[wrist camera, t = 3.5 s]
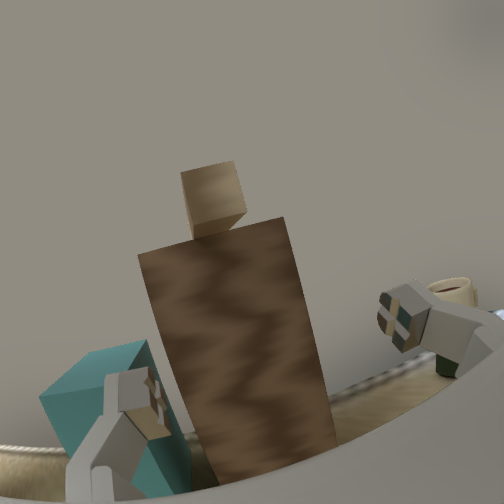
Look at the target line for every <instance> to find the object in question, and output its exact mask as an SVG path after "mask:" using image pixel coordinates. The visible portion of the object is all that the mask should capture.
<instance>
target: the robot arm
mask: <svg viewBox="0 0 504 504" xmlns="http://www.w3.org/2000/svg"><path fill="white" fill-rule="evenodd" d="M379 301H380V303H381V304H382V306H381V307H380V309H379V310H378V315H377V320H378V324H379V326H380V328H381V330H382V331H383V332H384V333H385V334H386V335H389V336H392V343H393V344H394V345H395V346H396V347H397V348H398V349H399V351H401V353H404V352H406V351H408V350H410V349H412V348H414V347H416V346H418V345H420V346H421V347H423V348H425V349H427V350H430V351H432V352H434V353H436V354H438V355H441V356H443V357H445V358H447V359H449V360H452V361H454V362H456V363H458V364H459V366H458V368H457V370H456V372H455V377H456V378H457V380H455V381H454V382H452V383H451V384H450V385H448V386H447V387H445V388H444V389H442V390H441V391H439V392H438V393H436V394H435V395H433V396H431V397H430V398H428V399H427V400H425V401H423V402H422V403H420V404H419V405H417V406H415V407H414V408H412V409H410V410H408V411H407V412H405V413H403V414H402V415H400V416H398V417H396V418H394V419H393V420H391V421H389V422H387V423H385V424H383V425H381V426H379V427H378V428H376V429H374V430H372V431H370V432H368V433H366V434H364V435H361V436H359V437H357V438H355V439H353V440H351V441H349V442H347V443H344V444H342V445H340V446H338V447H335V448H333V449H331V450H328V451H326V452H323V453H321V454H319V455H316V456H314V457H311V458H308V459H306V460H303V461H300V462H298V463H295V464H292V465H289V466H287V467H284V468H281V469H278V470H275V471H272V472H268V473H265V474H262V475H259V476H255V477H252V478H248V479H245V480H241V481H237V482H233V483H230V484H226V485H221V486H217V487H213V488H208V489H203V490H198V491H193V492H188V493H182V494H176V495H170V496H163V497H156V498H148V499H146V494H144V493H143V492H142V491H140V490H139V489H138V488H136V487H135V486H133V485H132V484H131V481H132V479H133V476H134V474H135V472H136V469H137V467H138V464H139V462H140V460H141V457H142V455H143V453H144V450H145V448H146V446H147V443H148V441H147V440H152V439H157V438H161V437H166V436H170V435H172V434H171V428H170V422H169V418H168V416H167V415H166V413H165V411H166V409H167V402H166V398H165V394H164V391H163V389H162V386H161V385H160V383H159V381H156V380H155V376H154V372H153V370H152V369H151V367H149V366H148V367H143V368H138V369H133V370H127V371H122V372H118V373H113V374H107V375H106V377H105V382H104V408H103V415H101V416H99V417H98V419H97V420H96V422H95V423H94V425H93V426H92V428H91V429H90V431H89V432H88V434H87V435H86V437H85V438H84V440H83V441H82V443H81V444H80V446H79V447H78V449H77V451H76V452H75V454H74V455H73V457H72V458H71V460H70V461H69V463H68V464H67V466H66V482H65V489H66V502H49V501H35V500H25V499H16V498H9V497H2V496H0V504H504V321H503V320H502V319H501V318H500V317H498V316H497V315H496V314H493V313H490V312H486V311H483V310H479V309H475V308H472V307H468V306H464V305H461V304H457V303H453V302H450V301H446V300H445V301H441V300H440V299H439V298H438V297H437V296H436V295H434V294H433V293H432V292H431V291H430V290H429V289H427V288H426V287H425V286H423V284H421V283H420V282H419V281H417V280H414V279H413V280H411V281H409V282H406V283H404V284H402V285H399V286H397V287H395V288H392V289H390V290H387V291H385V292H382V294H381V296H380V300H379Z"/></svg>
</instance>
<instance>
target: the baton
mask: <svg viewBox="0 0 504 504" xmlns="http://www.w3.org/2000/svg"><path fill="white" fill-rule="evenodd" d="M181 180H182V186H183V194H184V201H185V208H186V215H187V221H188V227H189V231H190V235H191V238H192V240H194V239H197V238H201V237H205V236H209V235H213V234H217V233H220V232H224V231H228V230H229V229H230V228H231V227H232V226H233V225H234V224H235V223H236V222H237V221H238V220H239V219H240V218H241V217H242V216H243V215H245V213H247V208H246V205H245V201H244V197H243V193H242V190H241V186H240V182H239V179H238V175H237V171H236V168H235V164H234V161H228V162H223V163H219V164H215V165H210V166H206V167H201V168H197V169H193V170H189V171H185V172H181Z"/></svg>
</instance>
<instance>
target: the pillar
mask: <svg viewBox="0 0 504 504" xmlns="http://www.w3.org/2000/svg"><path fill="white" fill-rule="evenodd" d="M138 259H139V263H140V267H141V271H142V274H143V278H144V282H145V286H146V289H147V293H148V296H149V299H150V303H151V307H152V310H153V313H154V317H155V320H156V323H157V326H158V330H159V333H160V336H161V339H162V342H163V345H164V348H165V351H166V354H167V357H168V360H169V363H170V366H171V368H172V371H173V374H174V377H175V380H176V382H177V385H178V388H179V390H180V393H181V395H182V398H183V401H184V403H185V406H186V408H187V411H188V414H189V416H190V419H191V421H192V423H193V426H194V428H195V431H196V433H197V435H198V438H199V440H200V442H201V445H202V447H203V449H204V451H205V454H206V456H207V458H208V460H209V462H210V465H211V467H212V469H213V471H214V473H215V475H216V477H217V479H218V481H219V484H220V486H221V485H226V484H230V483H233V482H237V481H241V480H245V479H248V478H252V477H255V476H259V475H262V474H265V473H268V472H272V471H275V470H278V469H281V468H284V467H287V466H289V465H292V464H295V463H298V462H300V461H303V460H306V459H308V458H311V457H314V456H316V455H319V454H321V453H323V452H326V451H328V450H331V449H333V448H335V447H338V444H337V439H336V434H335V429H334V424H333V420H332V415H331V410H330V405H329V401H328V396H327V392H326V387H325V382H324V378H323V374H322V370H321V365H320V360H319V356H318V352H317V347H316V343H315V339H314V335H313V330H312V326H311V322H310V318H309V314H308V310H307V306H306V302H305V298H304V294H303V290H302V286H301V282H300V278H299V274H298V270H297V266H296V263H295V259H294V255H293V252H292V247H291V244H290V240H289V236H288V233H287V229H286V225H285V221H284V218H283V217H280V218H276V219H272V220H268V221H264V222H260V223H256V224H252V225H248V226H244V227H240V228H236V229H232V230H228V231H224V232H220V233H217V234H213V235H209V236H205V237H201V238H197V239H194V240H190V241H186V242H182V243H179V244H175V245H171V246H168V247H164V248H160V249H157V250H153V251H149V252H146V253H142V254H138Z"/></svg>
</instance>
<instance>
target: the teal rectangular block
mask: <svg viewBox="0 0 504 504" xmlns="http://www.w3.org/2000/svg"><path fill="white" fill-rule="evenodd" d="M148 366H149V367H151V369H152V370H153V372H154V376H155V380H156V381H159V383H160V385H161V386H162V389H163V391H164V394H165V398H166V402H167V409H166V411H165V413H166V415H167V416H168V418H169V422H170V428H171V434H172V435H170V436H166V437H161V438H157V439H152V440H147V441H148V443H147V446H146V448H145V450H144V453H143V455H142V457H141V460H140V462H139V464H138V467H137V469H136V472H135V474H134V476H133V479H132V481H131V484H132V485H133V486H135V487H136V488H138V489H139V490H140V491H142V492H143V493H144V494H146V499H148V498H156V497H163V496H170V495H176V494H182V493H188V492H192V476H191V451H190V449H189V447H188V445H187V443H186V440H185V438H184V436H183V434H182V431H181V429H180V427H179V424H178V422H177V420H176V417H175V415H174V412H173V410H172V408H171V405H170V403H169V400H168V398H167V395H166V393H165V390H164V387H163V385H162V382H161V379H160V377H159V374H158V371H157V368H156V366H155V363H154V360H153V357H152V354H151V351H150V348H149V345H148V342H147V340H146V339H145V340H141V341H137V342H133V343H129V344H125V345H121V346H116V347H112V348H107V349H103V350H99V351H94V352H90V353H88V354H87V355H86V356H85V357H83V358H82V359H81V360H80V361H79V362H78V363H77V364H75V365H74V366H73V367H72V368H71V369H70V370H69V371H67V372H66V373H65V374H64V375H63V376H62V377H61V378H59V379H58V380H57V381H56V382H55V383H54V384H52V385H51V386H50V387H49V388H48V389H47V390H46V391H45V392H44V393H42V394H41V395H40V396H39V398H40V400H41V403H42V405H43V407H44V410H45V412H46V414H47V416H48V418H49V420H50V422H51V424H52V426H53V428H54V430H55V432H56V434H57V436H58V438H59V440H60V442H61V444H62V445H63V447H64V449H65V451H66V453H67V454H68V456H69V458H70V460H71V458H72V457H73V455H74V454H75V452H76V451H77V449H78V447H79V446H80V444H81V443H82V441H83V440H84V438H85V437H86V435H87V434H88V432H89V431H90V429H91V428H92V426H93V425H94V423H95V422H96V420H97V419H98V417H99V416H101V415H103V408H104V382H105V377H106V375H107V374H113V373H118V372H122V371H127V370H133V369H138V368H143V367H148Z"/></svg>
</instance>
